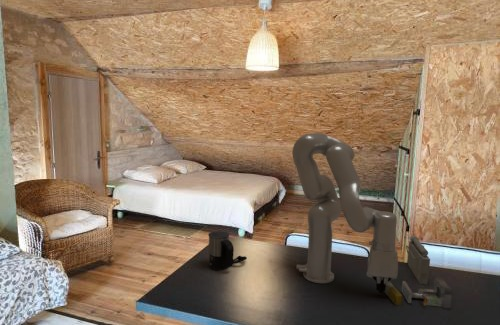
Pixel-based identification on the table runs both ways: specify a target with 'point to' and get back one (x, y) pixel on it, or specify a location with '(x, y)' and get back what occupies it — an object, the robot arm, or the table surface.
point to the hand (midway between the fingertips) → (380, 292)
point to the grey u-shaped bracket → (439, 294)
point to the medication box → (393, 294)
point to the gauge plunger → (409, 294)
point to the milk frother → (221, 251)
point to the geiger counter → (418, 260)
